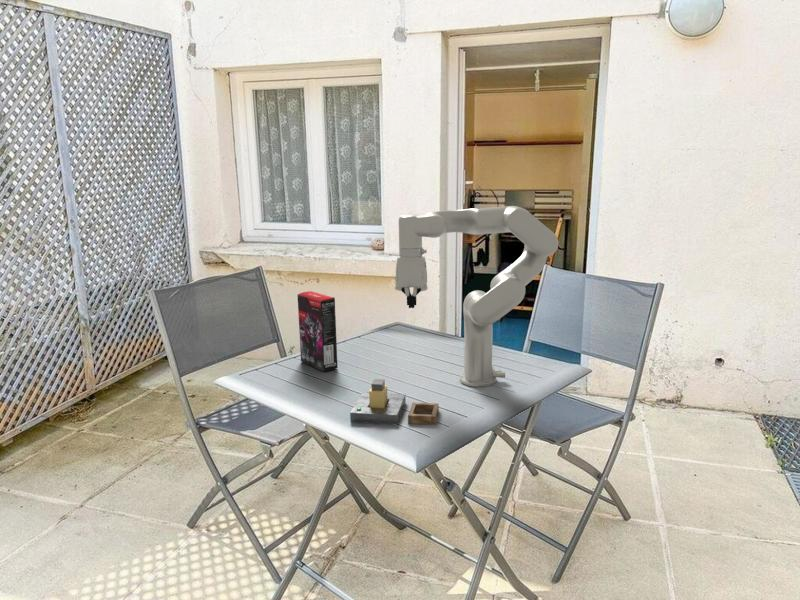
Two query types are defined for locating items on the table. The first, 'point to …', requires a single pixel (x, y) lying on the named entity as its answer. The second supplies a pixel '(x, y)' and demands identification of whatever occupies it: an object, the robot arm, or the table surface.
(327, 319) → the graphics card box
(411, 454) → the table surface
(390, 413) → the port
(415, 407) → the frame
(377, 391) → the plug
